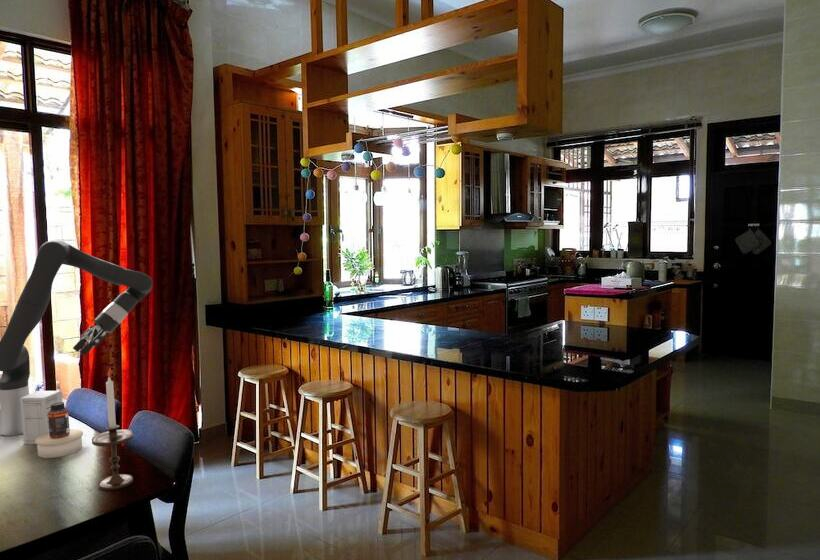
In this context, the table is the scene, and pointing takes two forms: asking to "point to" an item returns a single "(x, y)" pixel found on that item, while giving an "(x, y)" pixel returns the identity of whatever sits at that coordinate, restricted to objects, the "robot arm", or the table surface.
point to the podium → (59, 444)
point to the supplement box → (37, 413)
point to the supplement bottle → (58, 420)
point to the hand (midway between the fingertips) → (78, 351)
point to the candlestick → (113, 444)
